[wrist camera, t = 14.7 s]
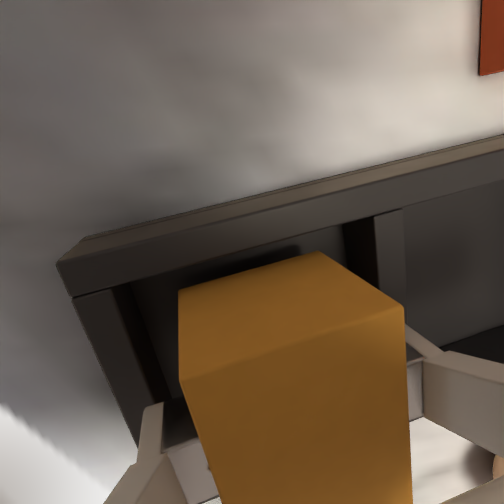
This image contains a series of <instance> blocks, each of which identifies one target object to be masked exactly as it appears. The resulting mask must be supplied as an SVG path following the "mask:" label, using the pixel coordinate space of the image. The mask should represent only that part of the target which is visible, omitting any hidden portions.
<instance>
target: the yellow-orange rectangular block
mask: <svg viewBox="0 0 504 504" xmlns="http://www.w3.org/2000/svg"><path fill="white" fill-rule="evenodd" d="M178 343H179V382H180V385H181V388H182V391H183V394H184V396H185V399H186V402H187V405H188V408H189V411H190V414H191V416H192V419H193V422H194V425H195V428H196V431H197V433H198V436H199V439H200V442H201V445H202V448H203V451H204V453H205V456H206V459H207V462H208V465H209V468H210V470H211V473H212V476H213V479H214V482H215V485H216V488H217V490H218V493H219V496H220V499H221V502H222V504H413V496H412V474H411V452H410V430H409V408H408V386H407V364H406V342H405V320H404V308H403V306H402V305H401V304H400V303H398V302H397V301H395V300H393V299H392V298H390V297H389V296H387V295H386V294H384V293H383V292H381V291H380V290H378V289H377V288H375V287H374V286H372V285H371V284H369V283H367V282H366V281H364V280H363V279H361V278H360V277H358V276H357V275H355V274H354V273H352V272H351V271H349V270H348V269H346V268H345V267H343V266H342V265H340V264H338V263H337V262H335V261H334V260H332V259H331V258H329V257H328V256H326V255H325V254H323V253H322V252H320V251H314V252H311V253H307V254H304V255H300V256H297V257H293V258H289V259H286V260H282V261H279V262H275V263H272V264H268V265H265V266H261V267H257V268H254V269H250V270H247V271H243V272H240V273H236V274H233V275H229V276H226V277H222V278H218V279H215V280H211V281H208V282H204V283H201V284H197V285H194V286H190V287H186V288H183V289H180V290H179V291H178Z"/></svg>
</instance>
